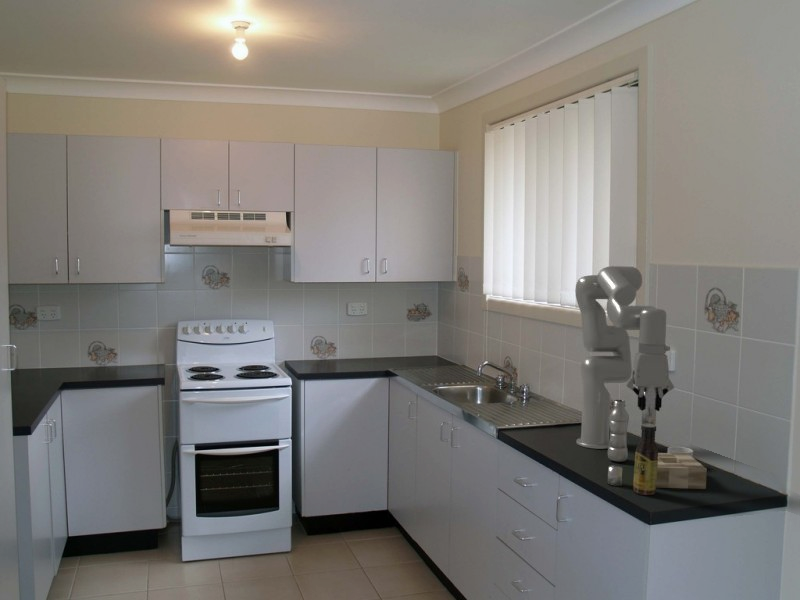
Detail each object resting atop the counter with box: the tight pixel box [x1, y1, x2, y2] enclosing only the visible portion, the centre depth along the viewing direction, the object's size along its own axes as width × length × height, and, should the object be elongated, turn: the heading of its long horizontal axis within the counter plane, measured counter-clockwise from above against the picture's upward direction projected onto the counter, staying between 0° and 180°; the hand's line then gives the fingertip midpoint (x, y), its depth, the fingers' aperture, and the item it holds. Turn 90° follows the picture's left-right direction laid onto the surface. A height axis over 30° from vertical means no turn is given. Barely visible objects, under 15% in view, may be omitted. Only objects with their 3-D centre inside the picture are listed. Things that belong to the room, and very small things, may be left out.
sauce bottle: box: [632, 423, 659, 496], centre depth 219 cm, size 7×6×20 cm
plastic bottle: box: [607, 399, 630, 463], centre depth 251 cm, size 6×7×20 cm
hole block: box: [656, 452, 708, 490], centre depth 232 cm, size 16×16×6 cm
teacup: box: [667, 446, 694, 458], centre depth 247 cm, size 10×8×5 cm
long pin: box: [641, 386, 657, 426], centre depth 231 cm, size 4×4×12 cm
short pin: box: [607, 465, 623, 487], centre depth 227 cm, size 4×4×5 cm
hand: (649, 409), depth 232 cm, fingers closed on long pin, 4 cm apart
